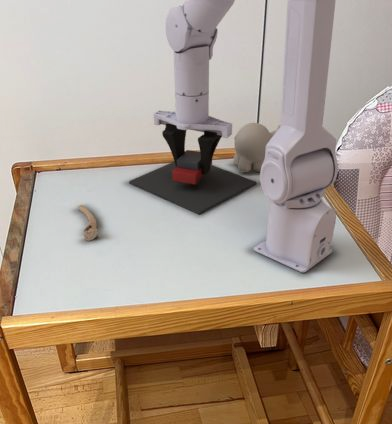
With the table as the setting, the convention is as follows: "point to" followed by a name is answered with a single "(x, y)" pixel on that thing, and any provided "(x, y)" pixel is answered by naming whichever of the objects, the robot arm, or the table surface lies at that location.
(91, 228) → the bone
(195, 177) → the toy car
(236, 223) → the table surface
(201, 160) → the robot arm
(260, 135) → the toy rhinoceros
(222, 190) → the mat
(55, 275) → the table surface
